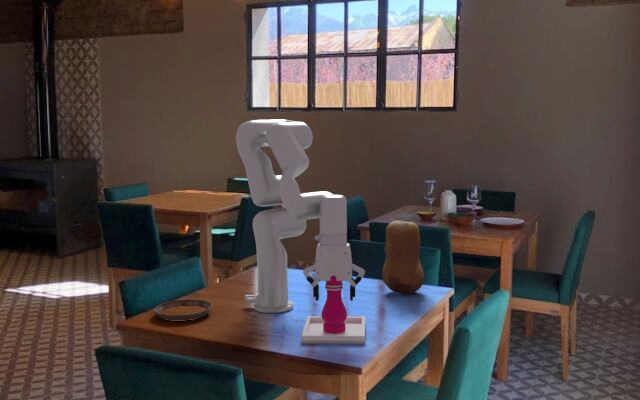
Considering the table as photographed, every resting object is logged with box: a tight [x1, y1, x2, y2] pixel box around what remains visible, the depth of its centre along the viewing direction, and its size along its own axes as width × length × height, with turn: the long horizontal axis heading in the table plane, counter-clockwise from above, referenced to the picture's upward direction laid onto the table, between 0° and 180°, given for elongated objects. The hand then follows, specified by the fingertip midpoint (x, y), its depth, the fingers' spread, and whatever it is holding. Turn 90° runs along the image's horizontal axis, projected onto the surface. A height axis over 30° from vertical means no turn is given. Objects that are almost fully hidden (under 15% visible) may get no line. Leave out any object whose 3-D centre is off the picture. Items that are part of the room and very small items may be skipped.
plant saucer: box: [153, 298, 213, 320], centre depth 208 cm, size 18×18×3 cm
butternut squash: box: [381, 219, 425, 296], centre depth 226 cm, size 14×13×25 cm
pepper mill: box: [321, 275, 348, 334], centre depth 187 cm, size 7×7×20 cm
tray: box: [301, 315, 366, 345], centre depth 188 cm, size 17×17×2 cm
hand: (334, 299), depth 187 cm, fingers open, 9 cm apart
